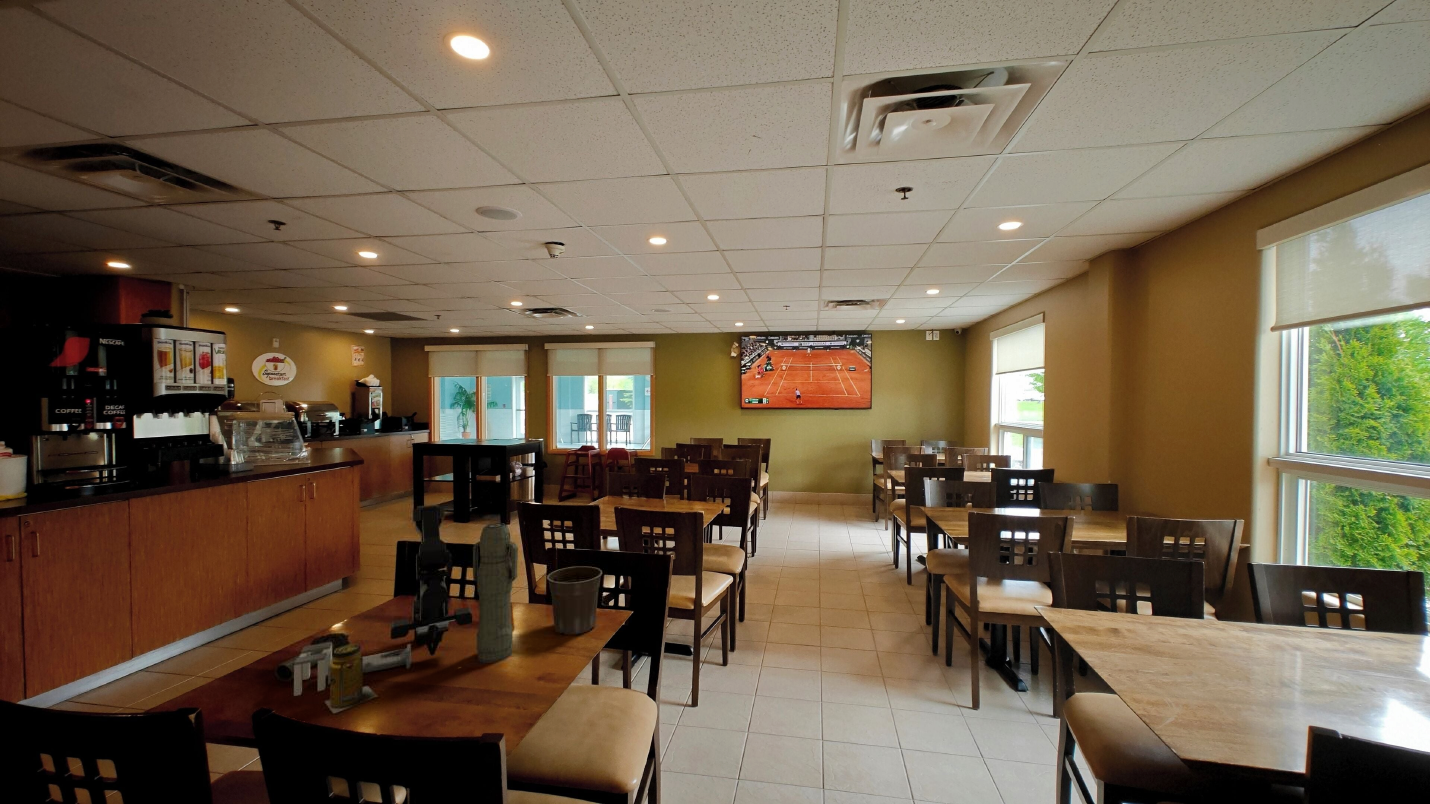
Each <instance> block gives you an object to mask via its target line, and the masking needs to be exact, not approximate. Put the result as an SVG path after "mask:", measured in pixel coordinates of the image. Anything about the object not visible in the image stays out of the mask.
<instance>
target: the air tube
mask: <svg viewBox="0 0 1430 804" xmlns="http://www.w3.org/2000/svg"><path fill="white" fill-rule="evenodd" d="M362 658H363V674H366V673H372V672H377V671H382V670H385V669H390V668H396V667H401V666H405V667H406V668H405V669H410V668H411V663H412V644H411V643H407V645H406V648H403V649H397V650H393V651H387V652H382V653H377V654H376V653H375V654H371V655H366V656H362ZM332 659H333V657H332ZM332 659H331V662H330V664H329V666H328V675H327V681H328V682H327V684H328V685H329V686H330V668H331V663H332V662H333V661H332Z"/></svg>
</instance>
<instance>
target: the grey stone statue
mask: <svg viewBox="0 0 1430 804" xmlns="http://www.w3.org/2000/svg"><path fill="white" fill-rule="evenodd" d="M510 553H511V556H510ZM518 553H519V547H518V545H517V544H516V542H512V540H511V531H510V530H509V526H508V525H507V524H505V523H503V522H502V523H501V522H495V523H489V524H486V525H485V526H483V527H482V530H481V534H480V538H479V541H477V542H475V544H474V545H473V547H472V577H473V581H474V582H475V583H476V584H477V586H476V591H477V594H478V599H479V600H478V606H479V607H478V611H479V612H478V630H477V633H476V650H477V657H476V659H477V660H478V661H479V662H480V663H484V664H488V663H489V664H491V663H497V662H500V661H504V660H506V659H508V658H509V657H511V656H512V654H513V647H512V646H513V643H514V642H513V641H514V640H513V638H514V637H513V636H514V635H513V634H514V633H513V632H514V631H513V629H514V627H513V624H512V622H511V621H512V620H511V615H512V614H511V612H512V611H511V610H512V609H511V607H512V606H511V605H512V604H511V600H512V599H511V596H512V595H511V594H512V593H511V591H512V589H513V582H514V581H515V580H516V579H517V578H518V557H519V556H518V555H519V554H518ZM479 557H480V560H479Z"/></svg>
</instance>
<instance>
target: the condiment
mask: <svg viewBox="0 0 1430 804" xmlns="http://www.w3.org/2000/svg"><path fill="white" fill-rule="evenodd" d="M361 649H362V647H361V644H357V643H352V644H351V643H350V644H349V645H344V646H341V647H339V648H337V649H335V650H334V652H333V654H332V655H333V656H332V658H333V659H332V661H333V662H332V663H331V668H330V684H329V686H330V688H329V695H330V696H329V699H327V700H325V701H324V703H325V704H326V705H327V707H328V708H329V710H330V711H331V712H332V714H336V713H339V712H341V711H344V710H348V709H349V708H352V707H355V706H357V705H359V704H361V703H365V702H367V701H370V700H372V699H373V698H377V697H378V695H377V694H376V693H375V692H374V691H373V690H372V689H371V688H370V687H369V686H368V685H366V686H363V682H364V681H363V679H364V673H363V658H362V657H363V656H362V651H361Z"/></svg>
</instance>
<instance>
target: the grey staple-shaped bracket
mask: <svg viewBox="0 0 1430 804" xmlns="http://www.w3.org/2000/svg"><path fill="white" fill-rule="evenodd" d="M320 650H323V652H322V653H321V654H315V655H310V652H314V651H320ZM300 654H301V655H300ZM300 654H299V655H300V657H298V658H297V659H296V661H295V663H294V678H293V696H294V697H296V696H301V695H302V692H303V680H309V678H310V676H311V668H310V662H316V661H318V663H317V692H320V691H324V690H325V688H326V676H328V666H329V664H330V662H331V659H332V658H333V656H332V642H328V643H322V644H316V645H306V646H303V648H302V650H301V652H300ZM302 666H303V673H302Z"/></svg>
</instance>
